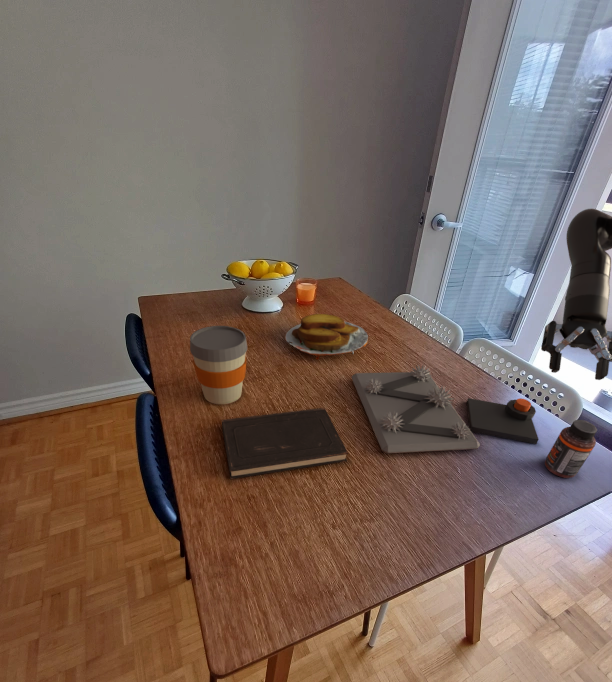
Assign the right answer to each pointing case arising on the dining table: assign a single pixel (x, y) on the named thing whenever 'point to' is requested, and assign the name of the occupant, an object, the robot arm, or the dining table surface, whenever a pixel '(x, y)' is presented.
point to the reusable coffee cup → (219, 362)
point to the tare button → (522, 405)
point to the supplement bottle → (571, 449)
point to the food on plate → (326, 335)
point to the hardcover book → (281, 442)
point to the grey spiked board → (412, 412)
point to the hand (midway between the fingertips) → (577, 375)
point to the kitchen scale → (501, 420)
